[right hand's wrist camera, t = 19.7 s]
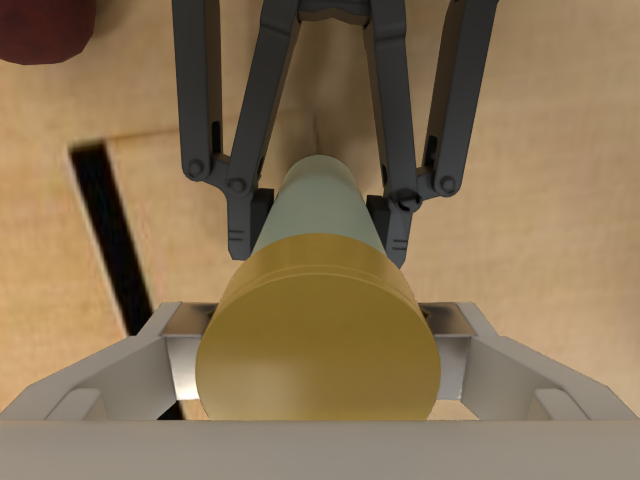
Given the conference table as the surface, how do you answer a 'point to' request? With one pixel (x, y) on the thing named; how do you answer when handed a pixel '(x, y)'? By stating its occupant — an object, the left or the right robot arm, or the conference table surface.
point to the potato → (44, 30)
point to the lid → (318, 338)
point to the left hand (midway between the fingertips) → (312, 315)
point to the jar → (319, 204)
